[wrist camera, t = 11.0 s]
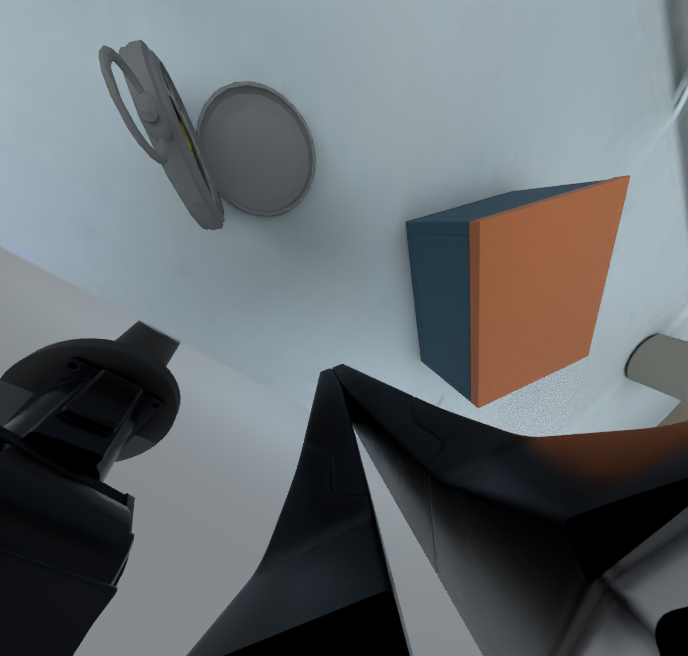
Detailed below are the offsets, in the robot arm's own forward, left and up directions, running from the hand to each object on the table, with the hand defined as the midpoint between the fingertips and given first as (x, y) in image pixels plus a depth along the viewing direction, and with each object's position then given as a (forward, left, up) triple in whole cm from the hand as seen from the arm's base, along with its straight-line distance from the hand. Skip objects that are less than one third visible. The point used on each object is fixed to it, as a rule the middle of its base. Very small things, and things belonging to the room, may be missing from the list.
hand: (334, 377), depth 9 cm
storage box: (+12, -11, -12) cm, 20 cm away
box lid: (+12, -11, -5) cm, 17 cm away
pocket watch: (+4, +8, -12) cm, 15 cm away
